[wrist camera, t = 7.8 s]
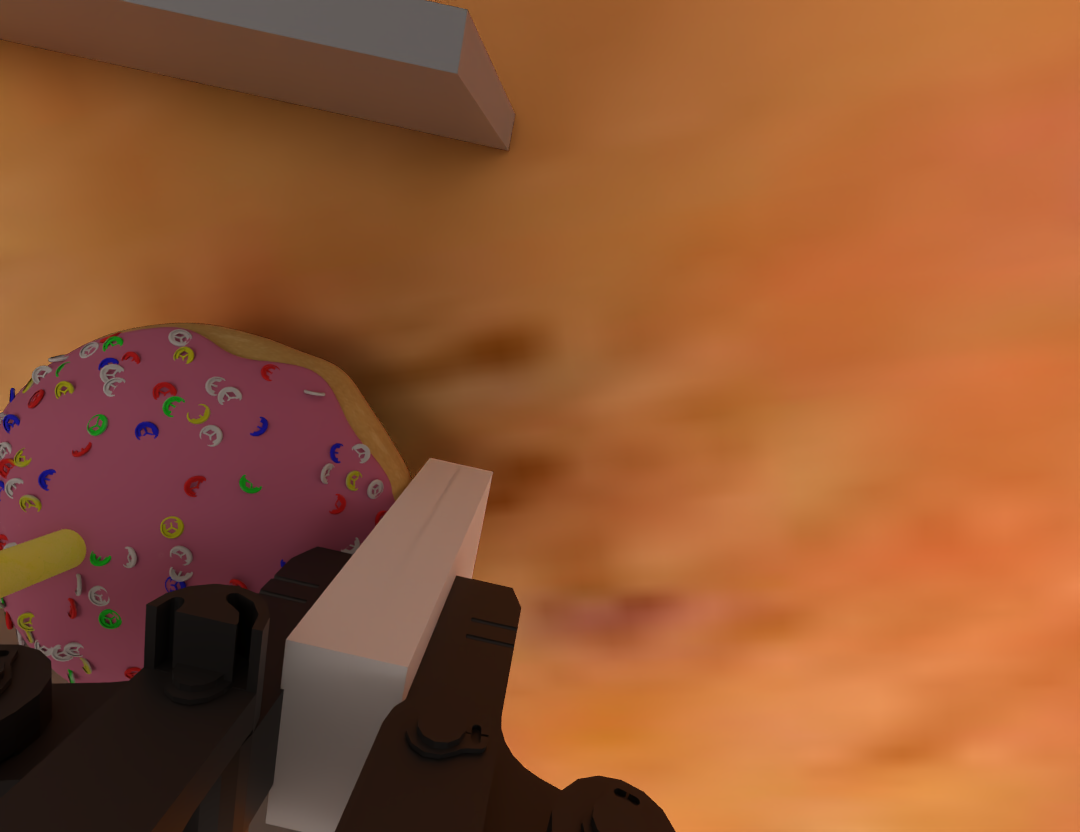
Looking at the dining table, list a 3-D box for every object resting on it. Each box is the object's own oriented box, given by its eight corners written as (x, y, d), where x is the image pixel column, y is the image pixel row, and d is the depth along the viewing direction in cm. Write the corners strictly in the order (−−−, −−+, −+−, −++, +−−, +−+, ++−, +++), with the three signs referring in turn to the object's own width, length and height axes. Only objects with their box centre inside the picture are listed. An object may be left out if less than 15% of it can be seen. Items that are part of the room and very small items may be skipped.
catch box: (-88, -18, 14) (-558, -213, 8) (515, 114, 14) (467, 10, 8) (-51, 618, 19) (-335, 780, 13) (403, 723, 18) (322, 934, 13)
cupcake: (104, 466, 17) (-936, 915, 5) (269, 231, 15) (-817, 126, 3) (342, 649, 18) (-98, 1360, 6) (526, 451, 16) (377, 957, 4)
